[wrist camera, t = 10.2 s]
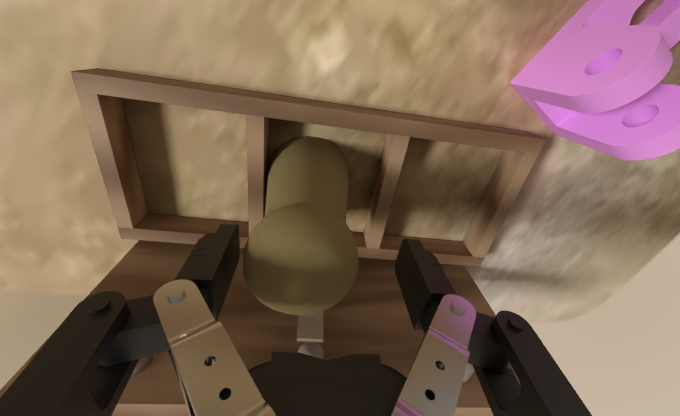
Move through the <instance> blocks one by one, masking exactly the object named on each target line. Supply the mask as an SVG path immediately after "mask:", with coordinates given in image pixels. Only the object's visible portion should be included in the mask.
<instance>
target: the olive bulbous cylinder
mask: <svg viewBox="0 0 680 416" xmlns="http://www.w3.org/2000/svg"><path fill="white" fill-rule="evenodd" d="M349 182H350V172H349V164H348V162H347V160H346V159H345V157H344V155H343V153H342V152H341V151H340V150H339V149H338V148H337V147H336V146H335V145H334V144H332V143H330V142H328V141H326V140H324V139H322V138H316V137H310V136H306V137H300V138H294V139H292V140H290V141H288V142H286V143H284V144H282V146H281V147H280V148H279V149H278V150H277V151H276V152H275V153H274V154H273V157H272V159H271V161H270V164H269V171H268V183H267V196H266V208H265V217H264V218H263V219H262V220H261V221H260V222H259V223H258V224H257V225H256V226H255V227H254V228H253V229H252V231H251V233H250V235H249V238H248V240H247V242H246V245H245V247H244V250H243V275H244V277H245V280H246V282H247V284H248V286H249V288H250V290H251V292H252V294H253V295H254V296H255V297H256V298H257V299H258V300H259V301H260V302H261V303H262V304H264V305H266V306H268V307H270V308H271V309H273V310H276V311H279V312H283V313H286V314H295V315H307V314H314V313H319V312H322V311H324V310H327V309H329V308H332V307H333V306H334V305H336V304H337V303H339V302H340V301H341V300H343V298H344V297H345V296H346V294H347V293H348V291H349V290H350V289H351V287H352V286H353V285H354V283H355V279H356V276H357V272H358V267H359V255H358V248H357V243H356V239H355V238H354V236H353V234H352V233H351V231H350V229H349V227H348V226H347V224H346V213H347V203H348V193H349Z"/></svg>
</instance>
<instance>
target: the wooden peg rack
mask: <svg viewBox="0 0 680 416" xmlns="http://www.w3.org/2000/svg"><path fill="white" fill-rule="evenodd" d="M71 74H72V77H73V81H74V84H75V87H76V91H77V94H78V97H79V101H80V104H81V107H82V111H83V114H84V117H85V120H86V124H87V127H88V130H89V134H90V137H91V140H92V144H93V147H94V150H95V154H96V157H97V160H98V163H99V167H100V170H101V173H102V177H103V180H104V183H105V187H106V190H107V193H108V197H109V200H110V203H111V207H112V210H113V213H114V216H115V220H116V223H117V226H118V230H119V233H120V236H121V239H133V240H139V241H138V242H137V243H136V244H135V245H134V247H133V248H132V249H131V250H130V251H129V252H128V253H127V254H126V255H125V256H124V257H123V258H122V259H121V261H120V262H119V263H118V264H117V265H116V266H115V267H114V268H113V269H112V270H111V271H110V272H109V274H108V275H107V276H106V277H105V278H104V279H103V280H102V281H101V282H100V283H99V284H98V285H97V286H96V288H95V289H94V290H93V291H92V292H91V293H90V294H89V295H88V296H87V297H86V298H88V297H90V296H92V295H94V294H97V293H101V292H106V291H116V292H120V293H122V294H123V295H124V296H125V299H126V300H130V299H135V298H140V297H146V296H150V295H153V294H155V293H156V291H157V290H158V289H159V288H160V287H161V286H163V285H164V284H166V283H169V282H171V281H174V280H175V278H176V276H177V275H178V273H179V271H180V270H181V268H182V266H183V265H184V263H185V261H186V260H187V258H188V256H190V253H191V251H192V250H193V249H194V246H195V245H196V243H197V241H198V240H199V239H200V238H201V237H203V236H204V235H206V234H207V233H216V231H217V229H218V227H219V225H220V224H221V223H227V224H238V225H239V239H240V257H239V262H238V265H237V268H236V270H235V273H234V276H233V279H232V281H231V284H230V287H229V290H228V293H227V295H226V298H225V301H224V304H223V306H222V309H221V312H220V315H219V317H218V320H220V322H221V323H222V325H223V327H224V328H225V330H226V332H227V334H228V336H229V338H230V339H231V341H232V343H233V345H234V347H235V348H236V350H237V352H238V354H239V356H240V357H241V359H242V361H243V363H244V365H245V367H246V368H247V370H249V369H251V368H253V367H255V366H257V365H259V364H262V363H264V362H268V361H271V355H272V352H300V353H303V354H307V355H310V356H314V357H317V358H321V359H324V360H331V359H335V358H339V357H343V356H347V355H352V354H380V358H381V363H382V364H385V365H387V366H390V367H392V368H393V369H395V370H397V371H398V372H400V373H401V374H403V375H404V376H405V377H406V375H407V373H408V371H409V368H410V366H411V364H412V362H413V360H414V357H415V355H416V353H417V351H418V348H419V346H420V344H421V342H422V340H423V337H424V335H425V334H424V331H423V330H414V329H413V326H412V322H411V319H410V316H409V313H408V310H407V307H406V304H405V301H404V298H403V295H402V292H401V289H400V286H399V283H398V280H397V277H396V274H395V262H396V258H397V255H398V252H399V249H400V246H401V243H402V241H403V239H404V238H406V239H418V240H420V241H421V243H422V245H423V247H424V249H425V250H429V251H430V252H431V253H432V254H433V255H434V256H435V257H437V259H438V261H439V263H440V265H441V267H442V269H443V270H444V273H445V274H446V276H447V278H448V280H449V281H450V283H451V285H452V287H453V289H454V291H455V293H456V294H457V295H458V296H460V297H463V298H464V299H466V300H467V301H468V302H470V303H471V304H472V306H473V307H474V309H475V311H476V312H479V313H482V314H485V315H488V316H491V317H496V315H495V313H494V312H493V310H492V309H491V307H490V306H489V304H488V302H487V301H486V299H485V298H484V296H483V295H482V293H481V292H480V290H479V288H478V287H477V285H476V284H475V282H474V281H473V279H472V278H471V276H470V274H469V273H468V271H467V270H466V268H465V267H464V265H465V266H477V267H480V265H481V263H482V261H483V259H484V257H485V255H486V254H487V252H488V250H489V248H490V246H491V244H492V242H493V240H494V238H495V236H496V235H497V233H498V231H499V229H500V227H501V225H502V223H503V221H504V219H505V218H506V216H507V214H508V212H509V210H510V208H511V206H512V204H513V202H514V200H515V199H516V197H517V195H518V193H519V191H520V189H521V187H522V185H523V183H524V181H525V180H526V178H527V176H528V174H529V172H530V170H531V168H532V166H533V164H534V163H535V161H536V159H537V157H538V155H539V153H540V151H541V149H542V147H543V145H544V144H545V142H546V139H543V138H541V137H539V136H536V135H534V134H532V133H529V132H527V131H520V130H514V129H507V128H500V127H493V126H486V125H480V124H473V123H466V122H459V121H452V120H445V119H439V118H432V117H425V116H418V115H411V114H405V113H398V112H391V111H384V110H377V109H370V108H364V107H357V106H350V105H343V104H336V103H330V102H323V101H316V100H309V99H302V98H295V97H289V96H282V95H275V94H268V93H261V92H255V91H248V90H241V89H234V88H227V87H221V86H214V85H207V84H200V83H193V82H186V81H180V80H173V79H166V78H159V77H152V76H146V75H139V74H132V73H125V72H118V71H111V70H105V69H98V68H96V69H87V70H78V71H71ZM122 98H129V99H136V100H143V101H151V102H158V103H165V104H173V105H180V106H187V107H195V108H202V109H209V110H217V111H224V112H231V113H239V114H246V115H247V158H248V213H249V223H247V222H236V221H224V220H213V219H202V218H191V217H180V216H169V215H157V214H148V211H147V206H146V202H145V198H144V193H143V189H142V185H141V180H140V176H139V172H138V167H137V163H136V158H135V154H134V150H133V145H132V141H131V137H130V132H129V128H128V124H127V119H126V115H125V111H124V106H123V102H122ZM269 118H275V119H283V120H290V121H297V122H305V123H312V124H319V125H327V126H334V127H341V128H349V129H356V130H363V131H371V132H378V133H385V134H386V139H385V143H384V147H383V151H382V156H381V160H380V164H379V169H378V173H377V177H376V181H375V186H374V190H373V194H372V199H371V203H370V207H369V211H368V216H367V220H366V224H365V229H364V233H358V232H351V233H352V234H353V236H354V238H355V239H356V243H357V248H358V255H359V267H358V272H357V276H356V279H355V283H354V285H353V286H352V287H351V289H350V290H349V291H348V293H347V294H346V296H345V297H344V298H343V300H341V301H340V302H339V303H337V304H336V305H334V306H333V307H332V308H329V309H327V310H324V311H322V312H319V313H314V314H307V315H295V314H286V313H283V312H279V311H276V310H273V309H271V308H270V307H268V306H266V305H264V304H262V303H261V302H260V301H259V300H258V299H257V298H256V297H255V296H254V295H253V294H252V292H251V290H250V288H249V286H248V284H247V282H246V280H245V277H244V275H243V250H244V247H245V245H246V242H247V240H248V238H249V235H250V233H251V231H252V229H253V228H254V227H255V226H256V225H257V224H258V223H259V222H260V221H261V220H262V219H263V218H264V217H265V208H266V196H267V183H268V162H269ZM410 137H415V138H422V139H430V140H437V141H444V142H452V143H459V144H466V145H474V146H481V147H488V148H496V149H503V150H505V151H504V153H503V155H502V157H501V159H500V162H499V164H498V166H497V168H496V170H495V173H494V175H493V177H492V179H491V181H490V183H489V186H488V188H487V190H486V192H485V194H484V196H483V199H482V201H481V203H480V205H479V207H478V209H477V212H476V214H475V216H474V218H473V220H472V223H471V225H470V227H469V229H468V231H467V233H466V236H465V238H464V240H463V242H459V241H448V240H436V239H425V238H414V237H403V236H392V235H383V233H384V230H385V226H386V222H387V219H388V215H389V212H390V208H391V204H392V201H393V197H394V194H395V190H396V186H397V183H398V179H399V175H400V172H401V168H402V165H403V161H404V157H405V154H406V150H407V147H408V143H409V139H410ZM86 298H85V299H86ZM58 328H59V327H58ZM53 334H54V333H53ZM53 334H52V335H53ZM52 335H51V336H52ZM51 336H50V337H51ZM50 337H49V338H50ZM49 338H48V339H47V340H46V342H47V341H48V340H49ZM46 342H45V343H46ZM45 343H44V344H45ZM44 344H43V345H42V346H41V347H40V348H39V349H38V350H37V351H36V352H35V353H34V354H33V355H32V357H31V358H30V359H29V360H28V361H27V362H26V363H25V364H24V365H23V366H22V368H20V370H19V371H18V372H17V373H16V374H15V375H14V376H13V377H12V378H11V379H10V380H9V381H8V382H7V384H6V385H5V386H4V387H3V388H2V389H1V390H0V398H1V396H2V395H3V394H4V393H5V392H6V390H7V389H8V388H9V387H10V386H11V384H12V383H13V382H14V381H15V380H16V378H17V377H18V376H19V375H20V373H21V372H22V371H23V370H24V369H25V367H26V366H27V365H28V364H29V363H30V361H31V360H32V359H33V358H34V357H35V355H36V354H37V353H38V352H39V351H40V349H41V348H42V347H43V346H44ZM511 369H512V371H513V373H514V375H515V377H516V379H517V380H518V382H519V379H518V377H517V375H516V374H515V372H514V370H513V368H512V366H511ZM519 384H520V382H519ZM520 386H521V385H520ZM112 416H190V415H189V412H188V409H187V406H186V403H185V400H184V397H183V394H182V391H181V388H180V385H179V382H178V379H177V377H176V374H175V371H174V368H173V365H172V363H171V360H170V357H169V354H168V351H167V352H163V353H159V354H155V355H151V356H147V357H144V358H140V359H139V361H138V363H137V365H136V367H135V369H134V371H133V373H132V375H131V377H130V379H129V381H128V383H127V385H126V387H125V389H124V391H123V393H122V395H121V397H120V399H119V401H118V403H117V405H116V407H115V409H114V411H113V413H112ZM454 416H493V413H492V411H491V408H490V406H489V404H488V401H487V399H486V396H485V394H484V392H483V389H482V387H481V384H480V382H479V380H478V377H477V375H476V373H475V370H474V368H473V365H472V364H469V363H467V366H466V370H465V374H464V378H463V382H462V386H461V390H460V394H459V398H458V402H457V406H456V410H455V414H454Z"/></svg>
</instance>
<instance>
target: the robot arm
mask: <svg viewBox="0 0 680 416" xmlns="http://www.w3.org/2000/svg"><path fill="white" fill-rule="evenodd" d="M239 257H240V239H239V225H238V224H227V223H221V224H220V225H219V227H218V229H217V231H216V233H207V234H206V235H204V236H203V237H201V238H200V239H199V240H198V241H197V243H196V245H195V246H194V249H193V250H192V251H191V253H190V256H188V258H187V260H186V261H185V263H184V265H183V266H182V268H181V270H180V271H179V273H178V275H177V276H176V278H175V280H174V281H171V282H169V283H166V284H164V285H163V286H161V287H160V288H159V289H158V290H157V291H156V293H155V294H153V295H150V296H146V297H140V298H135V299H130V300H126V299H125V296H124V295H123V294H122V293H120V292H116V291H106V292H101V293H97V294H94V295H92V296H90V297H88V298H86V299H84V300H83V301H81V302H80V303H79V304H78V305H77V306H76V307H75V308H74V309H73V311H72V312H71V313H70V314H69V316H68V317H67V318H66V319H65V320H64V321H63V323H62V324H61V325H60V327H59V328H58V329H57V330H56V331H55V332H54V334H53V335H52V336H51V337H50V338H49V340H48V341H47V342H46V343H45V344H44V346H43V347H42V348H41V349H40V351H39V352H38V353H37V354H36V355H35V357H34V358H33V359H32V360H31V361H30V363H29V364H28V365H27V366H26V367H25V369H24V370H23V371H22V372H21V373H20V375H19V376H18V377H17V378H16V380H15V381H14V382H13V383H12V384H11V386H10V387H9V388H8V389H7V390H6V392H5V393H4V394H3V395H2V396H1V398H0V416H112V413H113V411H114V409H115V407H116V405H117V403H118V401H119V399H120V397H121V395H122V393H123V391H124V389H125V387H126V385H127V383H128V381H129V379H130V377H131V375H132V373H133V371H134V369H135V367H136V365H137V363H138V361H139V359H140V358H144V357H147V356H151V355H155V354H159V353H163V352H167V351H168V354H169V357H170V360H171V363H172V365H173V368H174V371H175V374H176V377H177V379H178V382H179V385H180V388H181V391H182V394H183V397H184V400H185V403H186V406H187V409H188V412H189V415H190V416H454V414H455V410H456V406H457V402H458V398H459V394H460V390H461V386H462V382H463V378H464V374H465V370H466V366H467V363H469V364H472V365H473V368H474V370H475V373H476V375H477V377H478V380H479V382H480V384H481V387H482V389H483V392H484V394H485V396H486V399H487V401H488V404H489V406H490V408H491V411H492V413H493V416H592V415H591V413H590V412H589V411H588V409H587V408H586V406H585V405H584V404H583V402H582V400H581V399H580V397H579V396H578V395H577V393H576V391H575V390H574V389H573V387H572V386H571V384H570V383H569V381H568V380H567V378H566V377H565V375H564V374H563V373H562V371H561V370H560V368H559V367H558V365H557V364H556V362H555V361H554V359H553V358H552V356H551V355H550V353H549V352H548V351H547V349H546V347H545V346H544V345H543V343H542V342H541V340H540V339H539V337H538V336H537V334H536V333H535V331H534V330H533V329H532V327H531V326H530V324H529V323H528V322H527V321H526V320H525V319H523V318H522V317H521V316H519V315H517V314H515V313H513V312H510V311H500V312H499V313H498V314H497V315H496V317H491V316H488V315H485V314H482V313H479V312H476V311H475V309H474V307H473V306H472V304H471V303H470V302H468V301H467V300H466V299H464V298H463V297H460V296H458V295H457V294H456V293H455V291H454V289H453V287H452V285H451V283H450V281H449V280H448V278H447V276H446V274H445V273H444V270H443V269H442V267H441V265H440V263H439V261H438V259H437V257H435V256H434V255H433V254H432V253H431V252H430V251H429V250H425V249H424V247H423V245H422V243H421V241H420V240H418V239H406V238H404V239H403V241H402V243H401V246H400V249H399V252H398V255H397V258H396V262H395V274H396V277H397V280H398V283H399V286H400V289H401V292H402V295H403V298H404V301H405V304H406V307H407V310H408V313H409V316H410V319H411V322H412V326H413V329H414V330H423V331H424V334H425V335H424V337H423V340H422V342H421V344H420V346H419V348H418V351H417V353H416V355H415V357H414V360H413V362H412V364H411V366H410V368H409V371H408V373H407V375H406V377H405V376H404V375H403V374H401V373H400V372H398V371H397V370H395V369H393V368H392V367H390V366H387V365H385V364H382V363H381V358H380V354H352V355H347V356H343V357H339V358H335V359H331V360H324V359H321V358H317V357H314V356H310V355H307V354H303V353H300V352H272V355H271V361H268V362H264V363H262V364H259V365H257V366H255V367H253V368H251V369H249V370H247V368H246V367H245V365H244V363H243V361H242V359H241V357H240V356H239V354H238V352H237V350H236V348H235V347H234V345H233V343H232V341H231V339H230V338H229V336H228V334H227V332H226V330H225V328H224V327H223V325H222V323H221V322H220V320H218V317H219V315H220V312H221V309H222V306H223V304H224V301H225V298H226V295H227V293H228V290H229V287H230V284H231V281H232V279H233V276H234V273H235V270H236V268H237V265H238V262H239ZM511 366H512V368H513V370H514V372H515V374H516V375H517V377H518V379H519V382H520V384H519V382H518V380H517V379H516V377H515V375H514V373H513V371H512V369H511ZM520 385H521V386H520Z"/></svg>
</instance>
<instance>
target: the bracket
mask: <svg viewBox="0 0 680 416" xmlns="http://www.w3.org/2000/svg"><path fill="white" fill-rule="evenodd" d="M644 1H645V0H588V1H587V2H586V3H585V4H584V5H583V6H582V7H581V8H580V9H579V10H578V12H577V13H576V14H575V15H574V16H573V17H572V18H571V19H570V20H569V21H568V22H567V23H566V24H565V25H564V26H563V27H562V28H561V29H560V30H559V31H558V32H557V33H556V35H555V36H554V37H553V38H552V39H551V40H550V41H549V42H548V43H547V44H546V45H545V46H544V47H543V48H542V49H541V50H540V51H539V52H538V53H537V54H536V55H535V57H534V58H533V59H532V60H531V61H530V62H529V63H528V64H527V65H526V66H525V67H524V68H523V69H522V70H521V71H520V72H519V73H518V74H517V75H516V76H515V77H514V78H513V80H512V81H511V82H510V83H509V84H510V85H511V86H512V87H513V88H514V89H515V90H516V92H517V93H518V94H519V95H520V96H521V97H522V98H523V99H524V100H525V102H526V103H527V104H528V105H529V106H530V107H531V108H532V109H533V111H534V112H535V113H536V114H537V115H538V116H539V117H540V118H541V120H542V121H543V122H544V123H545V124H546V125H547V126H548V127H549V128H550V130H551V131H552V132H553V133H554V134H556V135H559V136H562V137H564V138H567V139H569V140H572V141H574V142H577V143H580V144H582V145H585V146H587V147H590V148H593V149H595V150H598V151H600V152H603V153H606V154H608V155H611V156H613V157H616V158H619V159H622V160H630V161H637V160H647V159H652V158H656V157H660V156H663V155H666V154H668V153H671V152H673V151H675V150H677V149H679V148H680V86H678V85H670V84H662V83H659V82H660V81H661V80H662V79H663V78H664V77H665V76H666V74H667V73H668V72H669V70H670V68H671V66H672V63H673V55H672V53H671V51H670V49H671V48H672V47H673V46H674V45H675V44H676V43H677V42H679V41H680V0H665V1H664V2H662V3H661V4H660V5H659V6H658V7H657V8H656V9H655V10H654V11H653V12H652V13H651V14H650V15H649V16H648V17H647V18H645V19H644V20H643V21H642V22H641V23H640V24H639V25H630V21H631V18H632V16H633V14H634V13H635V11H636V10H637V8H638V7H639V6H640V5H641V4H642V3H643V2H644Z"/></svg>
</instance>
